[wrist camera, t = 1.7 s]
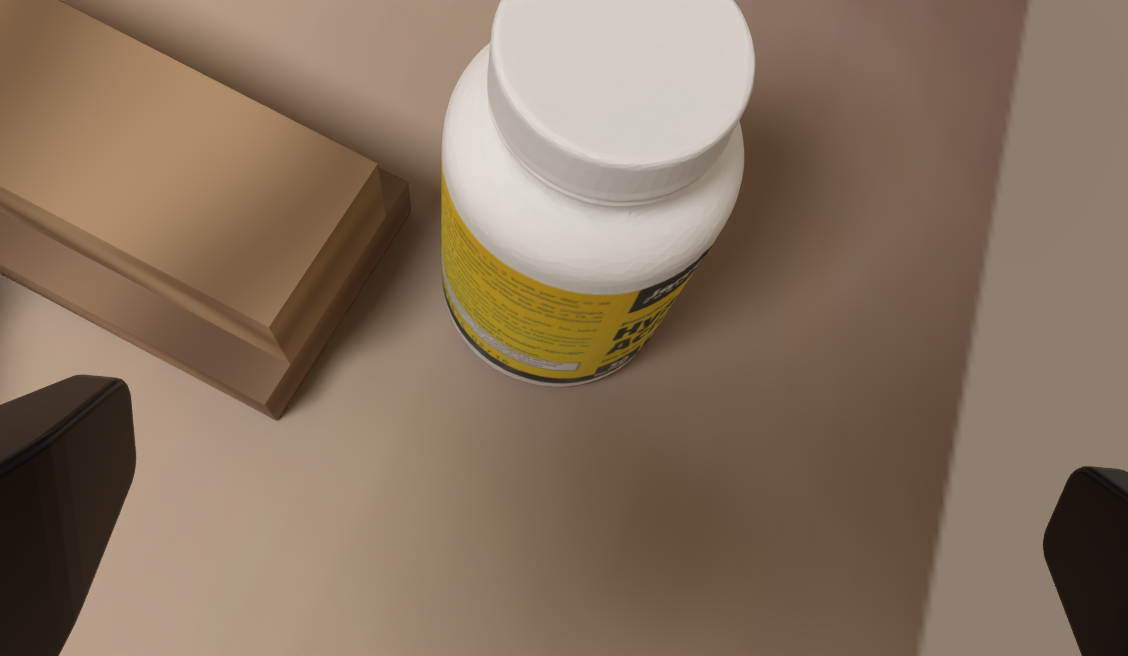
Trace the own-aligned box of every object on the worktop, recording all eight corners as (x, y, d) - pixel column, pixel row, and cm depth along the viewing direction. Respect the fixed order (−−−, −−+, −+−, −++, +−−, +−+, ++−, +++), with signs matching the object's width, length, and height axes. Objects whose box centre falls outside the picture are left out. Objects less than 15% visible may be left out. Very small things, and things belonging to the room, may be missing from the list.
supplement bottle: (609, 431, 22) (721, 277, 13) (402, 330, 22) (365, 107, 13) (696, 242, 24) (850, -12, 15) (504, 151, 24) (535, -157, 15)
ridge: (410, 210, 23) (402, 126, 19) (277, 420, 21) (239, 372, 17) (-74, -39, 24) (-172, -167, 20) (-247, 142, 22) (-393, 38, 18)
